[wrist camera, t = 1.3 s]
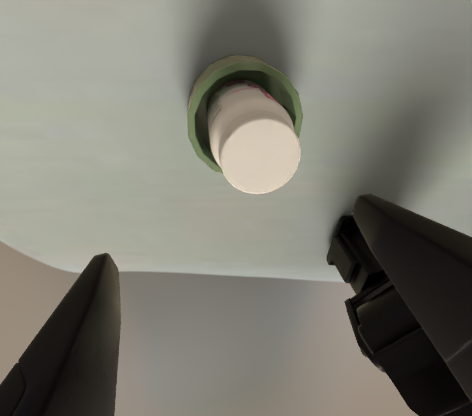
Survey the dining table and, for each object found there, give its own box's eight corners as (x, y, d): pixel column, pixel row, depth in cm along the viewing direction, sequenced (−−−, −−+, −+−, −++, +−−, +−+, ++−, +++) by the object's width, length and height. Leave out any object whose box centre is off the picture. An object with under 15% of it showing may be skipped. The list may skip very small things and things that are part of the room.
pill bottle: (279, 85, 19) (325, 121, 13) (261, 148, 22) (291, 206, 15) (213, 69, 18) (223, 99, 11) (201, 137, 21) (204, 195, 14)
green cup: (294, 58, 19) (312, 64, 16) (279, 157, 23) (291, 176, 20) (186, 52, 18) (184, 58, 15) (191, 157, 22) (190, 178, 19)
